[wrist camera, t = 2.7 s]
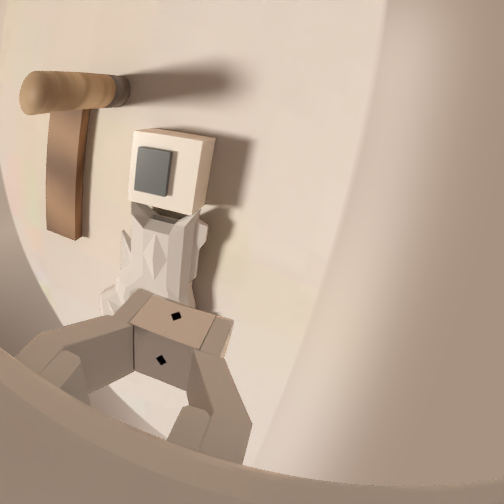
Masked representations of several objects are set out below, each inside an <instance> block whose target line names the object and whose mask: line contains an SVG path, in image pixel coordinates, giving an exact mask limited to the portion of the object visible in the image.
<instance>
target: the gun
mask: <svg viewBox="0 0 504 504" xmlns="http://www.w3.org/2000/svg"><path fill="white" fill-rule="evenodd" d="M200 211H201V209H199V210H198V211H197V212H195V213H194V214H193V215H192V216H190V215H188V216H186V217H184V218H182V219H180V220H179V219H175V218H171V217H167V216H163V215H159V214H158V213H156V212H155V211H154V210H152V209H151V208H150V207H149V206H148V205H145V204H141V203H137V202H132V204H131V238H130V237H129V236H128V234H127V233H126V232H125V230H123V231H122V239H121V270H120V271H119V272H118V275H117V280H116V284H115V285H113V286H110V287H108V288H106V289H105V290H104V291H103V292H102V293H101V294H100V295H99V298H100V305H101V312H102V316H104V315H110V316H113V315H114V314H115V313H116V311H117V310H118V309H119V308H120V307H121V306H122V305H123V304H124V303H125V302H126V301H127V300H128V299H129V298H130V297H131V295H132V294H133V293H134V292H135V291H136V290H137V289H140V288H142V289H144V290H147V291H150V292H152V293H154V294H158V295H160V296H163V297H166V298H168V299H171V300H173V301H176V302H179V303H181V304H184V305H186V306H189V307H192V308H196V304H195V299H194V295H193V290H192V280H193V279H195V278H196V276H197V269H198V260H199V251H200V248H201V246H202V245H203V244H204V243H205V242H206V240H207V234H208V227H209V225H208V224H206V223H205V222H204V221H202V220H201V219H200Z"/></svg>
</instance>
